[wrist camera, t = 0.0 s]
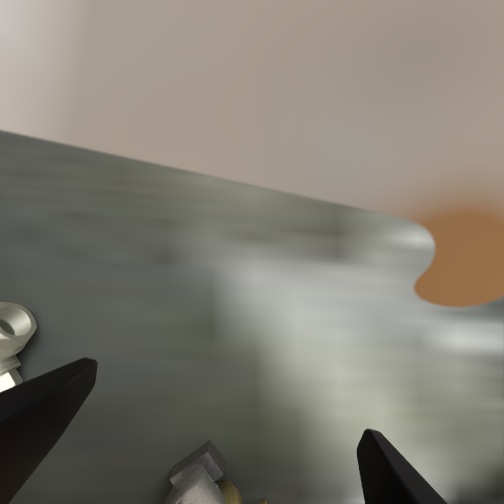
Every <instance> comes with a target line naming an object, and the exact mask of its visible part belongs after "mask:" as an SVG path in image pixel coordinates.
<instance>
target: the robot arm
mask: <svg viewBox="0 0 504 504" xmlns="http://www.w3.org/2000/svg"><path fill="white" fill-rule="evenodd" d="M96 373H97V361H96V360H93V359H89V358H82V359H79V360H77V361H74V362H72V363H69V364H67V365H65V366H62V367H60V368H57V369H55V370H53V371H50V372H48V373H45V374H43V375H40V376H38V377H36V378H33V379H31V380H28V381H26V382H24V383H21V384H19V385H16V386H14V387H11V388H9V389H7V390H4V391H2V392H0V504H8V503H9V502H10V501H11V499H12V498H13V497H14V495H15V494H16V493H17V492H18V490H19V489H20V488H21V487H22V485H23V484H24V483H25V482H26V480H27V479H28V478H29V477H30V475H31V474H32V473H33V472H34V470H35V469H36V468H37V466H38V465H39V464H40V463H41V461H42V460H43V459H44V458H45V456H46V455H47V454H48V453H49V451H50V450H51V449H52V448H53V446H54V445H55V444H56V442H57V441H58V440H59V438H60V437H61V435H62V434H63V433H64V431H65V430H66V428H67V427H68V425H69V424H70V422H71V421H72V419H73V418H74V416H75V415H76V413H77V412H78V410H79V408H80V407H81V405H82V404H83V402H84V401H85V399H86V398H87V396H88V395H89V393H90V392H91V390H92V389H93V387H94V384H95V381H96ZM357 459H358V465H359V471H360V477H361V482H362V488H363V494H364V500H365V504H447V503H446V502H445V500H444V499H443V498H442V497H441V496H440V495H439V494H438V493H437V492H436V491H435V490H434V489H433V488H432V487H431V486H430V485H429V483H428V482H427V481H426V480H425V479H424V478H423V477H422V476H421V475H420V474H419V473H418V472H417V471H416V470H415V469H414V467H413V466H412V465H411V464H410V463H409V462H408V461H407V460H406V459H405V458H404V457H403V456H402V455H401V454H400V453H399V451H398V450H397V449H396V448H395V447H394V446H393V445H392V444H391V443H390V442H389V441H388V440H387V439H386V438H385V437H384V436H383V434H382V433H381V432H379V431H376V430H372V429H366V430H365V431H364V433H363V435H362V438H361V440H360V442H359V444H358V447H357Z"/></svg>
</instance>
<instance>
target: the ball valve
mask: <svg viewBox="0 0 504 504" xmlns="http://www.w3.org/2000/svg"><path fill="white" fill-rule="evenodd" d="M36 328H37V324H36V321H35V319H34V317H33V315H32V314H31V313H30V311H29V310H28V309H27V308H26V307H24V306H21V305H18V304H14V303H9V302H0V392H2V391H4V390H7V389H9V388H11V387H14V386H16V385H19V384H21V383H22V382H23V380H22V378H21V376H20V375H19V373H18V371H17V368H18V367H19V366H21V363H20V362H19V360H18V358H17V357H16V355H15V354H17V353H18V352H20V351H21V350H22V349H23V348H24V347H25V345H26V343H27V341H28V340H29V339H30V338H31V336H32V335H33V334H34V332H35V330H36Z"/></svg>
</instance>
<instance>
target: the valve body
mask: <svg viewBox="0 0 504 504" xmlns="http://www.w3.org/2000/svg"><path fill="white" fill-rule="evenodd" d="M224 468H225V461H224V460H223V458H222V457H221V455H220V454H219V453H218V451H217V450H216V448H215V447H214V446H213V444H212V443H211V441H208V442H207V443H206V444H204V445H203V446H202V447H200V448H199V449H197V450H196V451H195V452H193V453H192V454H191V455H189V456H188V457H186V458H185V459H184V460H182V461H181V462H180V463H178V464H177V465H176V466H174V468H173V471H172V474H171V477H170V479H169V480H170V481H171V483H172V484H173V487H172V489H171V490H170V492H169V494H168V496H167V498H166V501H165V504H243V501H242V497H241V495H240V493H239V492H238V490H237V489H236V487H235V486H234V485H233V483H232V482H230V481H228V480H223V481H220V482H218V483H216V484H215V481H216V480H217V479H219V478H220V477H221V476H223V475H224ZM258 504H268V502H267V501H266V499H265V498H264V499H263V500H262V501H260V502H259V503H258Z"/></svg>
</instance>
